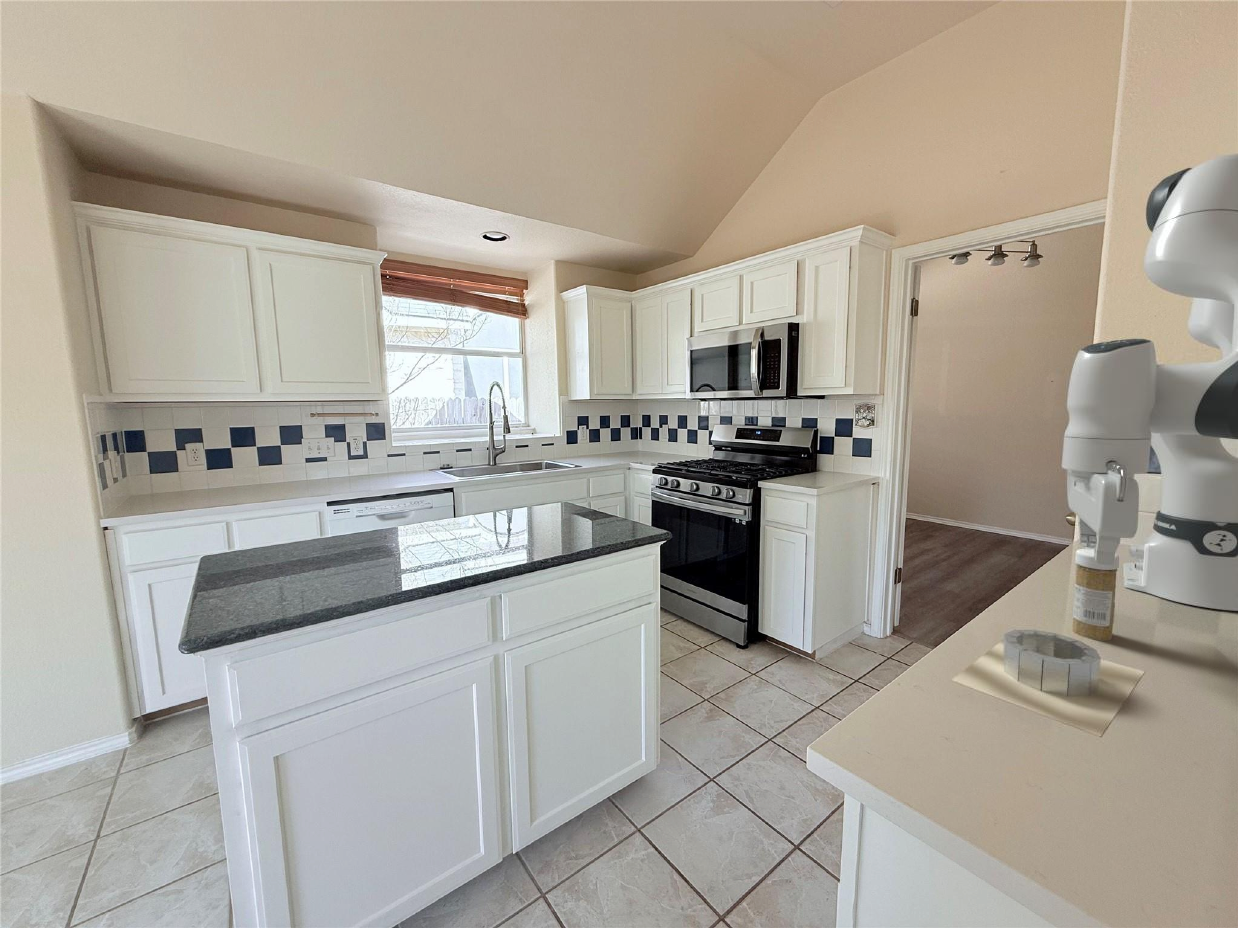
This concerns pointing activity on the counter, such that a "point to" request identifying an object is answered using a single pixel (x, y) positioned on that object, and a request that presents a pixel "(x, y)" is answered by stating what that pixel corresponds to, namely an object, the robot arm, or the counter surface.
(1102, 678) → the birch board
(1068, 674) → the steel ring
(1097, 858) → the counter surface
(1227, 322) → the robot arm
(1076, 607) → the sprinkles bottle
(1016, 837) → the counter surface
